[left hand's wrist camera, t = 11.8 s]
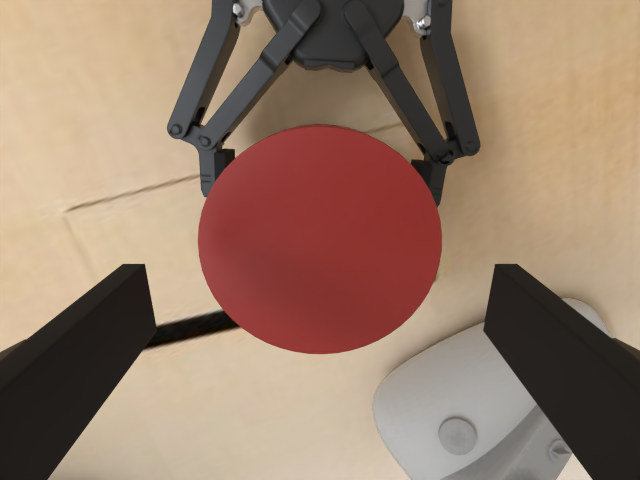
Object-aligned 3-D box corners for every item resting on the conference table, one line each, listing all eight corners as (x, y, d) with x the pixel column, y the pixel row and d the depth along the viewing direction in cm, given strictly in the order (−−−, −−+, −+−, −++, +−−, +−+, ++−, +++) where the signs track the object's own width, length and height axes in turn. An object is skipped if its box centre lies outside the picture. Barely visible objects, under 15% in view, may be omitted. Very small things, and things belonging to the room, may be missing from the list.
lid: (437, 120, 17) (454, 122, 15) (420, 326, 21) (432, 352, 19) (197, 127, 17) (179, 129, 15) (225, 331, 21) (214, 356, 19)
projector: (547, 458, 43) (655, 624, 29) (357, 448, 42) (375, 612, 28) (613, 294, 35) (802, 414, 21) (382, 279, 35) (423, 391, 21)
